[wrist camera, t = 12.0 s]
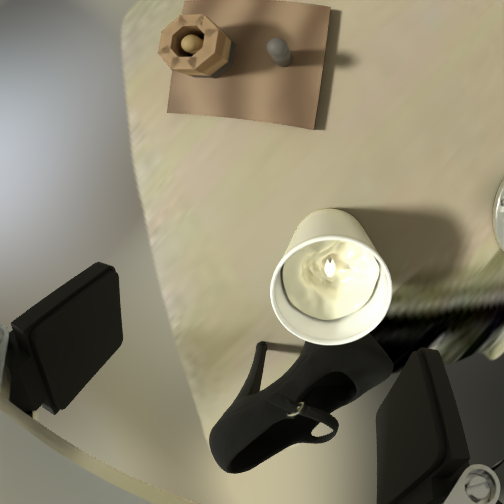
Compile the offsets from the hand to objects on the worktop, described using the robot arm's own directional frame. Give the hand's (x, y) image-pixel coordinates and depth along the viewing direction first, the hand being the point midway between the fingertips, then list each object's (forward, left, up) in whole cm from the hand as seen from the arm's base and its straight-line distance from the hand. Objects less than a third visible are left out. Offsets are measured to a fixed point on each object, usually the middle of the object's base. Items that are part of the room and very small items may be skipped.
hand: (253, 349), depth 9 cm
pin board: (+8, -13, -27) cm, 31 cm away
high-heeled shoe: (-5, +19, -27) cm, 33 cm away
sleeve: (+12, -13, -26) cm, 31 cm away
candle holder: (-4, +6, -27) cm, 28 cm away
